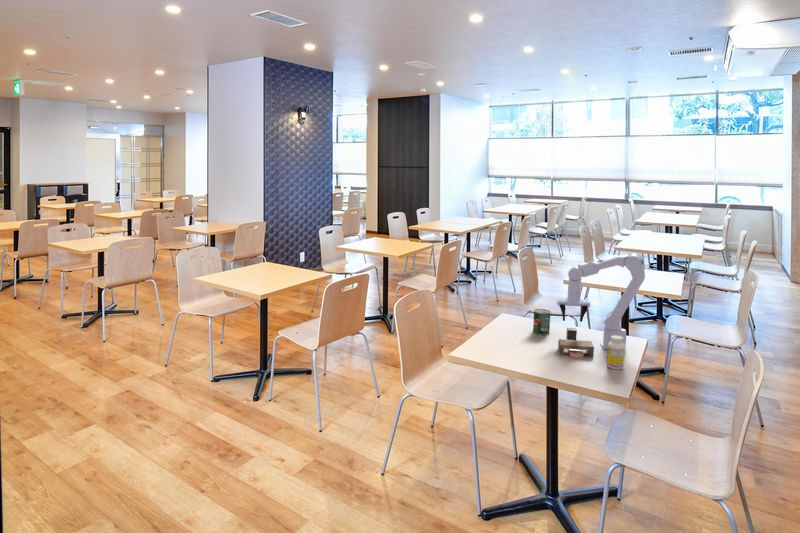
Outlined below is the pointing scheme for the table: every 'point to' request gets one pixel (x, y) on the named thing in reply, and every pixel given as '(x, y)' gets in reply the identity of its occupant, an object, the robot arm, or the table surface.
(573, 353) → the coaster
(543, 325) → the canned tomato
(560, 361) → the table surface
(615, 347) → the supplement bottle
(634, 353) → the table surface
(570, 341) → the bench
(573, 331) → the grey square prism
